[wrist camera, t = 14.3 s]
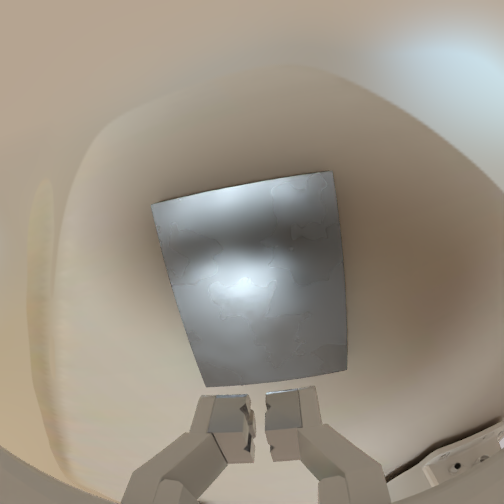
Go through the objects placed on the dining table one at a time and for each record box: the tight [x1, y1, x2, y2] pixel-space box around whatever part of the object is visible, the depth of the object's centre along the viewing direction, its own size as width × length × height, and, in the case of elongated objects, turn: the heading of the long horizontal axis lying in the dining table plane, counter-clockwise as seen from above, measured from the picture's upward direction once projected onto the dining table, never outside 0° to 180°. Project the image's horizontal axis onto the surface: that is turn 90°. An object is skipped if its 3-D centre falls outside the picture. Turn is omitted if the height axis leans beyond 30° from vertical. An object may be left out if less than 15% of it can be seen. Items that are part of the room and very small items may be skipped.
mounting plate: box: [151, 171, 347, 387], centre depth 16 cm, size 10×13×1 cm
